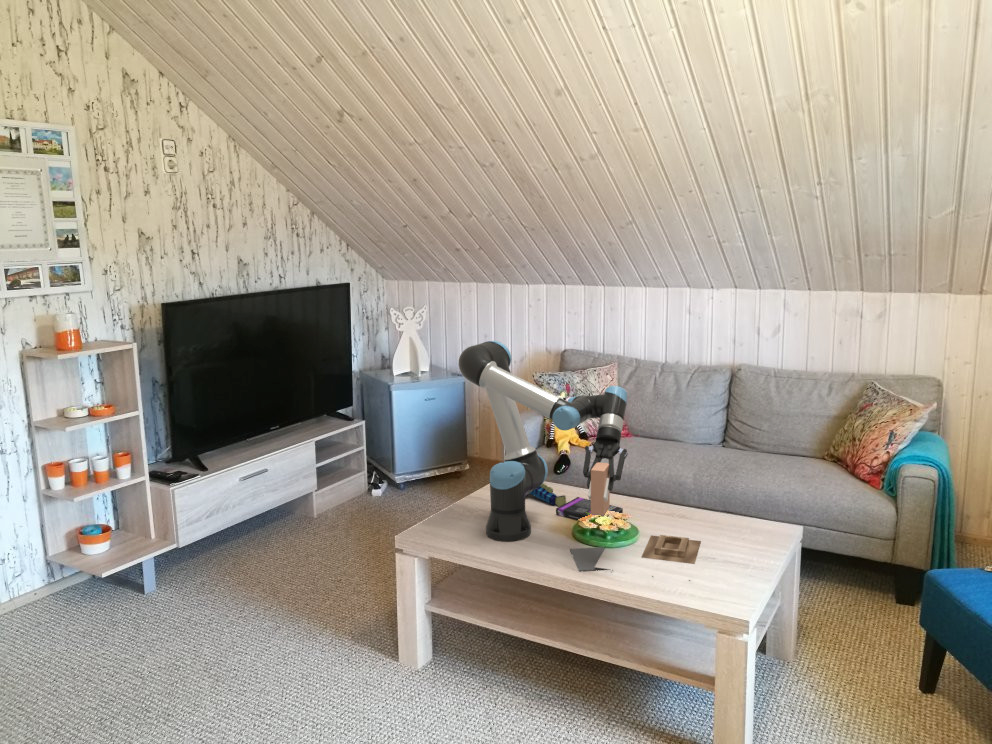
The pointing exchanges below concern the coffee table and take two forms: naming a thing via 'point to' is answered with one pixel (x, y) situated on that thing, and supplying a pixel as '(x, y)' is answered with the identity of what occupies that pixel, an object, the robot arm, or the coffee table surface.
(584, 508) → the box
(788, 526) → the coffee table surface
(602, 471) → the brown rectangular block
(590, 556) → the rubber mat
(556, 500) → the toy
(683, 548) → the slot holder
